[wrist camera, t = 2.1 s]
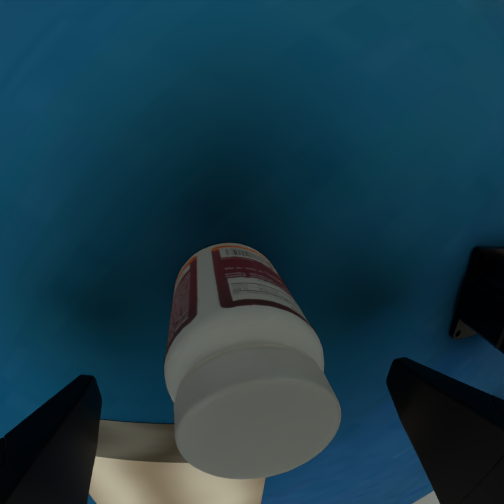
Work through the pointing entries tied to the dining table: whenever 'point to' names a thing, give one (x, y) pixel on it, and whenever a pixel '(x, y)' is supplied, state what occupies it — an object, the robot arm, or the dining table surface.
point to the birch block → (157, 470)
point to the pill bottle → (244, 369)
